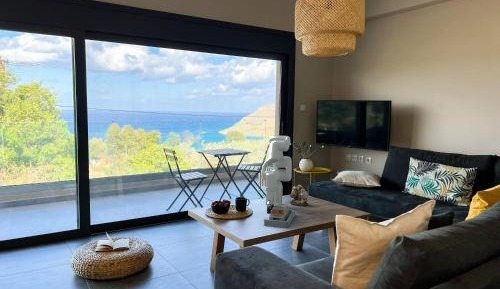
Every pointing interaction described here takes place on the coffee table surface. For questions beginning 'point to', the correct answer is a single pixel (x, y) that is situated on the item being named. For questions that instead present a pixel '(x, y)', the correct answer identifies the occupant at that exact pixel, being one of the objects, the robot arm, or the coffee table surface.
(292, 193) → the owl figurine
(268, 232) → the coffee table surface
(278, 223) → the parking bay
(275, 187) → the robot arm
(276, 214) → the toy car
